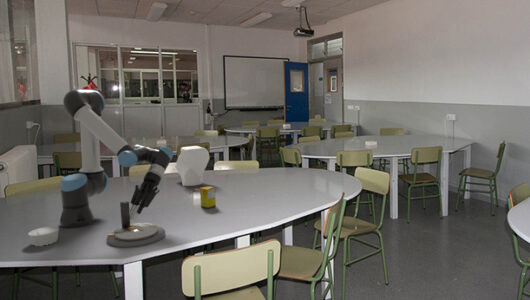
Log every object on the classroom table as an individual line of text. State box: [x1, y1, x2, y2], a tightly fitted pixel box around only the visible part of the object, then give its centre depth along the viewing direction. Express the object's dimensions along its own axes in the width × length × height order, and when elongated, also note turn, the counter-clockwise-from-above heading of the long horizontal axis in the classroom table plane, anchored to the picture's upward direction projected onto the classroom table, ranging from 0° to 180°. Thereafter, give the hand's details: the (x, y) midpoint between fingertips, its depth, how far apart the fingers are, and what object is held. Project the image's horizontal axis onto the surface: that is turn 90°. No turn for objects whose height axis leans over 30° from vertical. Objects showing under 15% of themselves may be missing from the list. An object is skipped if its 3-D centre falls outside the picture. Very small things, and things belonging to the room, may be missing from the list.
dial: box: [113, 201, 159, 241], centre depth 168 cm, size 18×18×13 cm
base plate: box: [106, 226, 166, 249], centre depth 169 cm, size 24×24×2 cm
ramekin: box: [27, 226, 60, 247], centre depth 165 cm, size 11×11×5 cm
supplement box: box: [199, 185, 217, 210], centre depth 214 cm, size 6×6×11 cm
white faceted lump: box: [174, 145, 211, 187], centre depth 278 cm, size 21×27×26 cm
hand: (131, 219), depth 175 cm, fingers closed
